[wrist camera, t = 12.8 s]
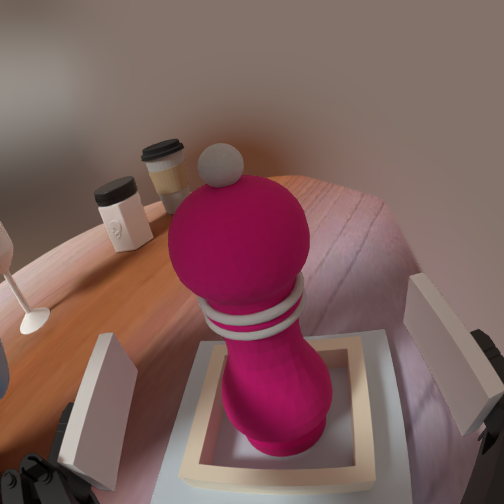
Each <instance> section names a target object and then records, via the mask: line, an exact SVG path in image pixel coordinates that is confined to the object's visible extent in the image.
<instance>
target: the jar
mask: <svg viewBox="0 0 504 504" xmlns="http://www.w3.org/2000/svg"><path fill="white" fill-rule="evenodd" d="M94 196H95V200H96V202H97V204H98V206H99V212H100V214H101V217H102V219H103V222H104V224H105V227H106V229H107V232H108V234H109V236H110V239H111V241H112V244H113V246H114V248H115V250H116V252H124V251H131V250H136V249H138V248H139V247H141V246H142V245H144V244H145V243H147V242H148V241H150V240H151V239H153V234H152V230H151V227H150V224H149V222H148V219H147V216H146V213H145V210H144V207H143V205H142V202H141V199H140V196H139V193H138V189H137V186H136V183H135V180H134V177H132V176H129V177H123V178H120V179H117V180H115V181H112V182H109V183H107V184H105V185H103V186H102V187H100V188H98V189H97V190H96V191H95V192H94Z"/></svg>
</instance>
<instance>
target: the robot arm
mask: <svg viewBox="0 0 504 504" xmlns="http://www.w3.org/2000/svg"><path fill="white" fill-rule="evenodd" d="M403 323H404V324H405V326H406V328H407V330H408V331H409V333H410V335H411V337H412V339H413V340H414V342H415V344H416V346H417V348H418V349H419V351H420V353H421V355H422V357H423V359H424V360H425V362H426V364H427V366H428V368H429V370H430V372H431V374H432V376H433V378H434V380H435V382H436V383H437V385H438V387H439V389H440V391H441V393H442V395H443V397H444V400H445V402H446V404H447V406H448V408H449V410H450V412H451V414H452V416H453V418H454V421H455V423H456V425H457V427H458V429H459V431H460V434H461V436H462V437H463V436H465V435H467V434H469V433H471V432H473V431H475V430H477V429H478V428H479V427H480V426H481V425H482V423H483V422H484V423H485V425H486V428H485V430H484V431H483V432H482V433H481V435H480V436H479V438H478V440H477V441H480V440H481V439H482V438H483V439H482V442H481V446H480V449H479V453H478V456H477V459H476V463H475V466H474V469H473V472H472V475H471V477H470V480H469V483H468V486H467V488H466V491H465V494H464V496H463V499H462V501H461V504H504V357H503V356H502V355H501V354H500V352H499V350H498V348H496V347H495V344H494V343H493V341H492V340H491V339H490V337H489V336H488V335H487V334H485V333H484V332H482V331H481V330H479V329H478V330H475V331H472V332H469V331H468V329H467V328H466V327H465V325H464V324H463V322H462V321H461V320H460V318H459V317H458V315H457V314H456V313H455V312H454V310H453V309H452V307H451V306H450V305H449V304H448V302H447V301H446V299H445V298H444V297H443V296H442V294H441V293H440V292H439V290H438V289H437V288H436V286H435V285H434V284H433V283H432V281H431V280H430V279H429V278H428V276H427V275H426V274H425V273H424V272H422V273H419V274H415V275H411V276H409V283H408V291H407V299H406V306H405V313H404V320H403ZM137 374H138V370H137V368H136V367H135V365H134V364H133V362H132V361H131V359H130V358H129V356H128V355H127V353H126V352H125V350H124V349H123V347H122V345H121V344H120V342H119V341H118V339H117V337H116V336H115V334H114V333H113V332H112V333H104V334H100V335H99V337H98V340H97V342H96V345H95V347H94V350H93V353H92V355H91V358H90V360H89V363H88V366H87V369H86V371H85V374H84V377H83V380H82V382H81V385H80V388H79V391H78V394H77V397H76V400H75V403H70V402H69V404H68V405H67V406H66V408H65V409H64V411H63V412H62V415H61V418H60V421H59V422H60V424H58V428H57V432H56V434H55V437H54V441H53V444H52V447H51V451H50V454H49V458H48V461H46V460H44V459H43V458H42V457H40V456H39V455H37V454H36V453H30V454H27V455H26V456H25V457H24V458H23V459H22V461H21V463H20V467H19V472H20V473H19V472H18V471H16V470H15V469H9V470H7V471H5V473H4V474H3V476H2V475H1V473H0V504H100V503H99V501H98V500H97V498H96V496H95V494H94V493H93V492H92V491H91V490H90V489H91V485H93V486H94V487H96V488H97V489H99V490H105V491H112V492H115V487H116V481H117V474H118V468H119V462H120V457H121V451H122V445H123V440H124V435H125V430H126V425H127V420H128V415H129V410H130V405H131V401H132V396H133V391H134V387H135V383H136V378H137ZM8 384H9V368H8V363H7V359H6V355H5V352H4V348H3V345H2V342H1V339H0V400H1V399H2V398H3V397H4V395H5V394H6V390H7V388H8Z"/></svg>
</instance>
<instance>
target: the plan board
mask: <svg viewBox="0 0 504 504" xmlns="http://www.w3.org/2000/svg"><path fill="white" fill-rule="evenodd" d="M303 338H304V339H305V340H306V341H307V342H308V343H309V344H310V345H311V346H312V347H313V348H314V349H315V350H316V352H317V353H318V354H319V355H320V357H321V358H322V360H323V361H324V363H325V364H326V366H327V368H328V371H329V373H330V377H331V382H332V388H333V396H332V402H331V406H330V409H329V411H328V413H327V415H326V426H325V429H324V431H323V434H322V435H321V437H320V439H319V440H318V441H317V442H316V443H315V444H314V445H313V446H312V447H310V448H309V449H307V450H306V451H304V452H302V453H299V454H297V455H293V456H287V457H275V456H270V455H267V454H264V453H262V452H260V451H258V450H257V449H256V448H254V447H253V446H252V445H251V444H250V442H249V441H248V439H247V437H246V435H244V434H242V433H241V432H240V431H239V430H237V429H236V428H235V427H234V426H233V424H232V423H231V422H230V420H229V419H228V416H227V414H226V411H225V408H224V405H223V402H222V393H221V386H222V376H223V373H224V369H225V365H226V362H227V356H228V349H227V346H226V343H225V341H200V344H199V347H198V350H197V353H196V357H195V360H194V363H193V366H192V369H191V372H190V375H189V378H188V382H187V385H186V388H185V391H184V394H183V397H182V401H181V404H180V407H179V410H178V414H177V417H176V420H175V423H174V426H173V430H172V433H171V436H170V440H169V443H168V446H167V449H166V453H165V456H164V459H163V463H162V466H161V469H160V473H159V476H158V480H157V483H156V486H155V490H154V493H153V497H152V500H151V503H150V504H413V501H412V488H411V477H410V467H409V458H408V450H407V443H406V435H405V428H404V422H403V416H402V410H401V404H400V398H399V393H398V387H397V382H396V377H395V372H394V367H393V362H392V358H391V353H390V349H389V344H388V340H387V336H386V332H385V329H379V330H371V331H362V332H353V333H343V334H332V335H321V336H309V337H303Z"/></svg>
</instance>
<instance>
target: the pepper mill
mask: <svg viewBox="0 0 504 504" xmlns="http://www.w3.org/2000/svg"><path fill="white" fill-rule="evenodd" d="M243 167H244V164H243V159H242V156H241V154H240V153H239V152H238V150H237V149H235V148H234V147H233V146H231V145H228V144H224V143H218V144H214V145H211V146H209V147H208V148H206V149H205V150H204V151H203V153H202V154H201V156H200V158H199V161H198V172H199V175H200V177H201V178H202V180H203V181H204V182H205V183H206V184H205V185H203V186H201V187H200V188H198V189H196V190H195V191H194V192H192V193H191V194H190V195H188V196H187V197H186V198H185V199H184V200H183V202H182V203H181V204H180V205H179V207H178V208H177V209H176V211H175V213H174V216H173V218H172V220H171V224H170V228H169V232H168V248H169V255H170V259H171V262H172V265H173V268H174V270H175V272H176V273H177V275H178V277H179V279H180V281H181V282H182V283H183V284H184V285H185V286H186V287H187V288H189V289H190V290H191V291H192V292H193V293H195V294H196V295H198V299H199V305H200V307H201V309H202V311H203V312H204V317H205V321H206V322H207V324H208V326H209V327H210V328H211V329H212V330H213V331H214V332H216V333H217V334H219V335H221V336H223V338H224V339H225V343H226V346H227V349H228V356H227V362H226V365H225V369H224V373H223V376H222V386H221V393H222V402H223V405H224V408H225V411H226V414H227V416H228V419H229V420H230V422H231V423H232V424H233V426H234V427H235V428H236V429H237V430H239V431H240V432H241V433H242V434H244V435H246V437H247V439H248V441H249V442H250V444H251V445H252V446H253V447H254V448H256V449H257V450H258V451H260V452H262V453H264V454H267V455H270V456H275V457H287V456H293V455H297V454H299V453H302V452H304V451H306V450H307V449H309V448H310V447H312V446H313V445H314V444H315V443H316V442H317V441H318V440H319V439H320V437H321V435H322V434H323V431H324V429H325V426H326V415H327V413H328V411H329V409H330V406H331V402H332V396H333V388H332V382H331V377H330V373H329V371H328V368H327V366H326V364H325V363H324V361H323V360H322V358H321V357H320V355H319V354H318V353H317V352H316V350H315V349H314V348H313V347H312V346H311V345H310V344H309V343H308V342H307V341H306V340H305V339H304V338H303V336H302V334H301V331H300V326H299V316H300V314H301V313H302V311H303V309H304V307H305V303H306V293H305V290H304V277H303V274H302V272H301V269H302V268H303V266H304V264H305V262H306V259H307V256H308V253H309V248H310V233H309V227H308V224H307V220H306V217H305V214H304V210H303V209H302V207H301V205H300V204H299V202H298V200H297V199H296V198H295V197H294V196H293V195H292V194H291V193H290V192H289V191H288V189H286V188H285V187H283V186H282V185H280V184H279V183H277V182H274V181H272V180H270V179H268V178H264V177H259V176H251V175H242V173H243Z"/></svg>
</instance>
